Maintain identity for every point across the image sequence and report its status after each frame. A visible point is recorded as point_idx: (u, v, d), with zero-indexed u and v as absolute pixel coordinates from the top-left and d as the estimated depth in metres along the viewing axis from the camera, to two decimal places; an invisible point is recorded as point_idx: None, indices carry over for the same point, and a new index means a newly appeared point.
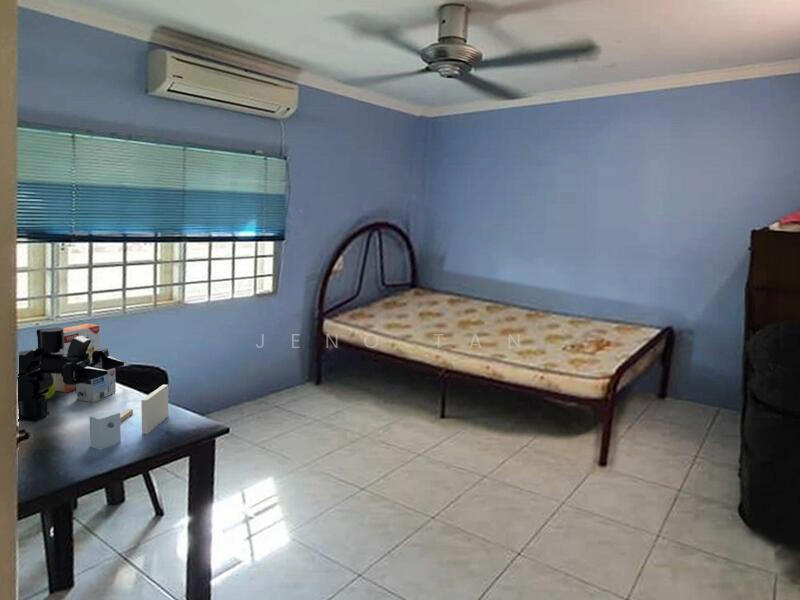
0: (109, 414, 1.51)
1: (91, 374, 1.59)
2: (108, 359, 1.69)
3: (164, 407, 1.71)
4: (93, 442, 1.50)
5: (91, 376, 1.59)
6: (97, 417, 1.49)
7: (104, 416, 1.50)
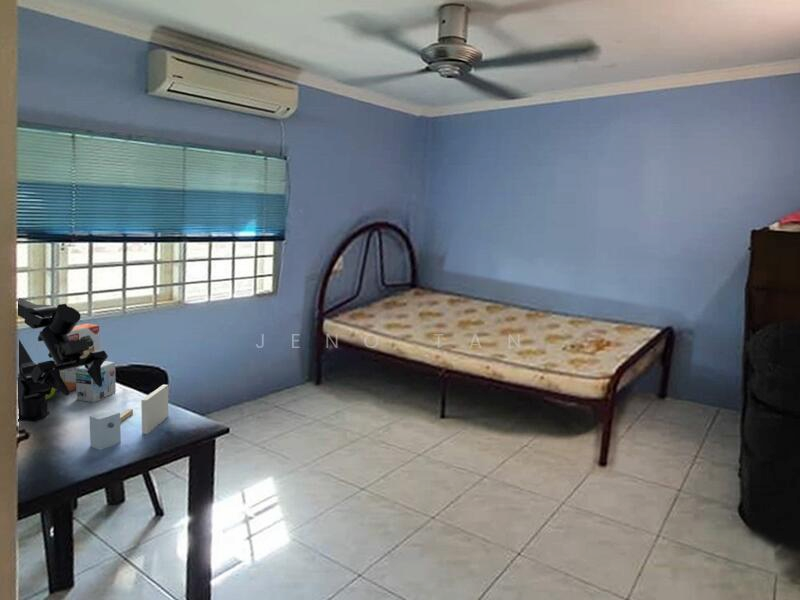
0: (109, 414, 1.51)
1: (56, 385, 1.50)
2: (95, 370, 1.59)
3: (164, 407, 1.71)
4: (93, 442, 1.50)
5: (55, 386, 1.50)
6: (97, 417, 1.49)
7: (104, 416, 1.50)
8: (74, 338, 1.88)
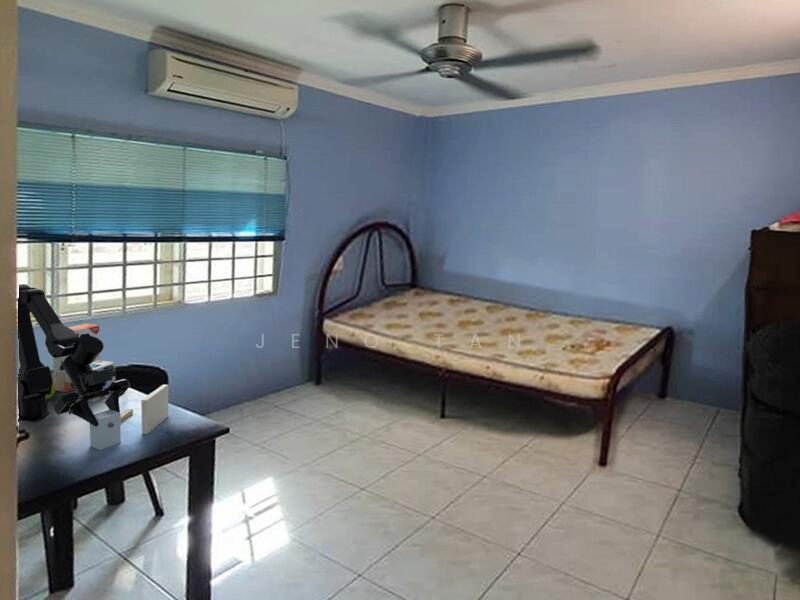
0: (109, 414, 1.51)
1: (85, 415, 1.48)
2: (113, 401, 1.54)
3: (164, 407, 1.71)
4: (93, 442, 1.50)
5: (84, 417, 1.48)
6: (97, 417, 1.49)
7: (104, 416, 1.50)
8: None
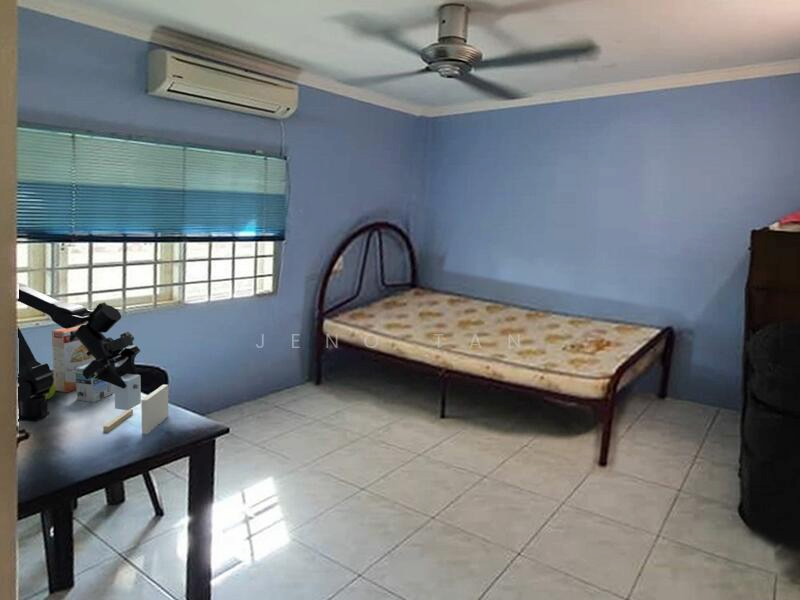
0: (131, 376, 1.61)
1: (112, 379, 1.57)
2: (130, 366, 1.64)
3: (164, 407, 1.71)
4: (119, 404, 1.59)
5: (110, 380, 1.57)
6: (124, 379, 1.59)
7: (129, 378, 1.60)
8: None
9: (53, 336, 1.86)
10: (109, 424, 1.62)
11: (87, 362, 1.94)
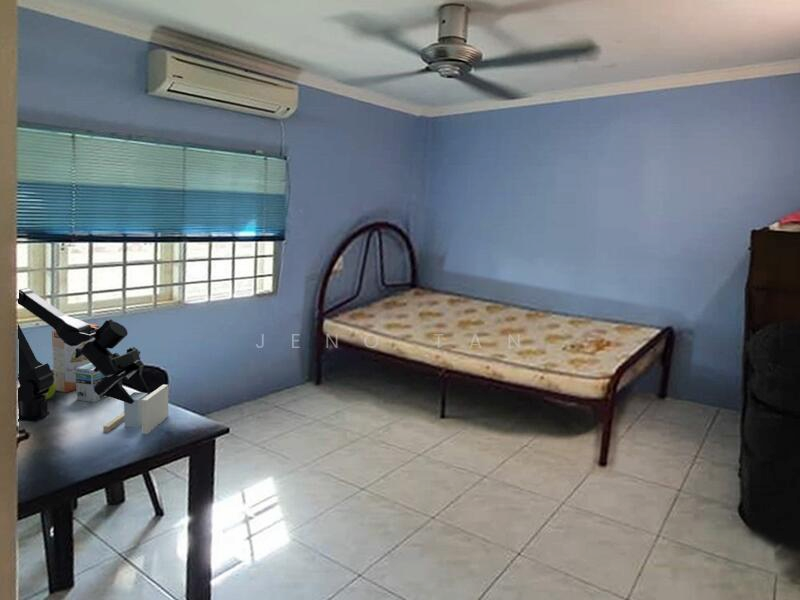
0: (139, 395, 1.66)
1: (119, 395, 1.60)
2: (138, 378, 1.70)
3: (164, 407, 1.71)
4: (129, 422, 1.64)
5: (118, 397, 1.60)
6: (133, 398, 1.63)
7: (138, 397, 1.65)
8: None
9: (53, 336, 1.86)
10: (109, 424, 1.62)
11: (87, 362, 1.94)
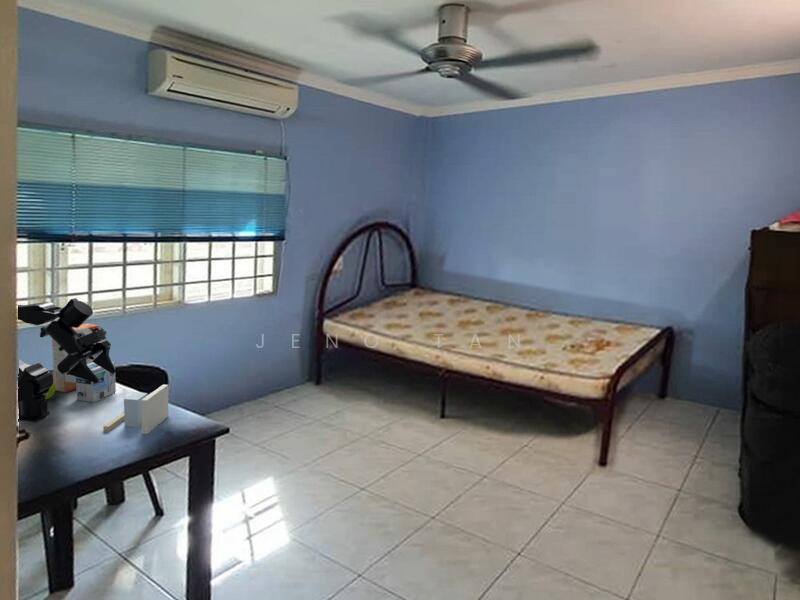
0: (139, 395, 1.66)
1: (84, 374, 1.59)
2: (105, 358, 1.69)
3: (164, 407, 1.71)
4: (129, 422, 1.64)
5: (82, 375, 1.59)
6: (133, 398, 1.63)
7: (138, 397, 1.65)
8: None
9: None
10: (109, 424, 1.62)
11: (87, 362, 1.94)
